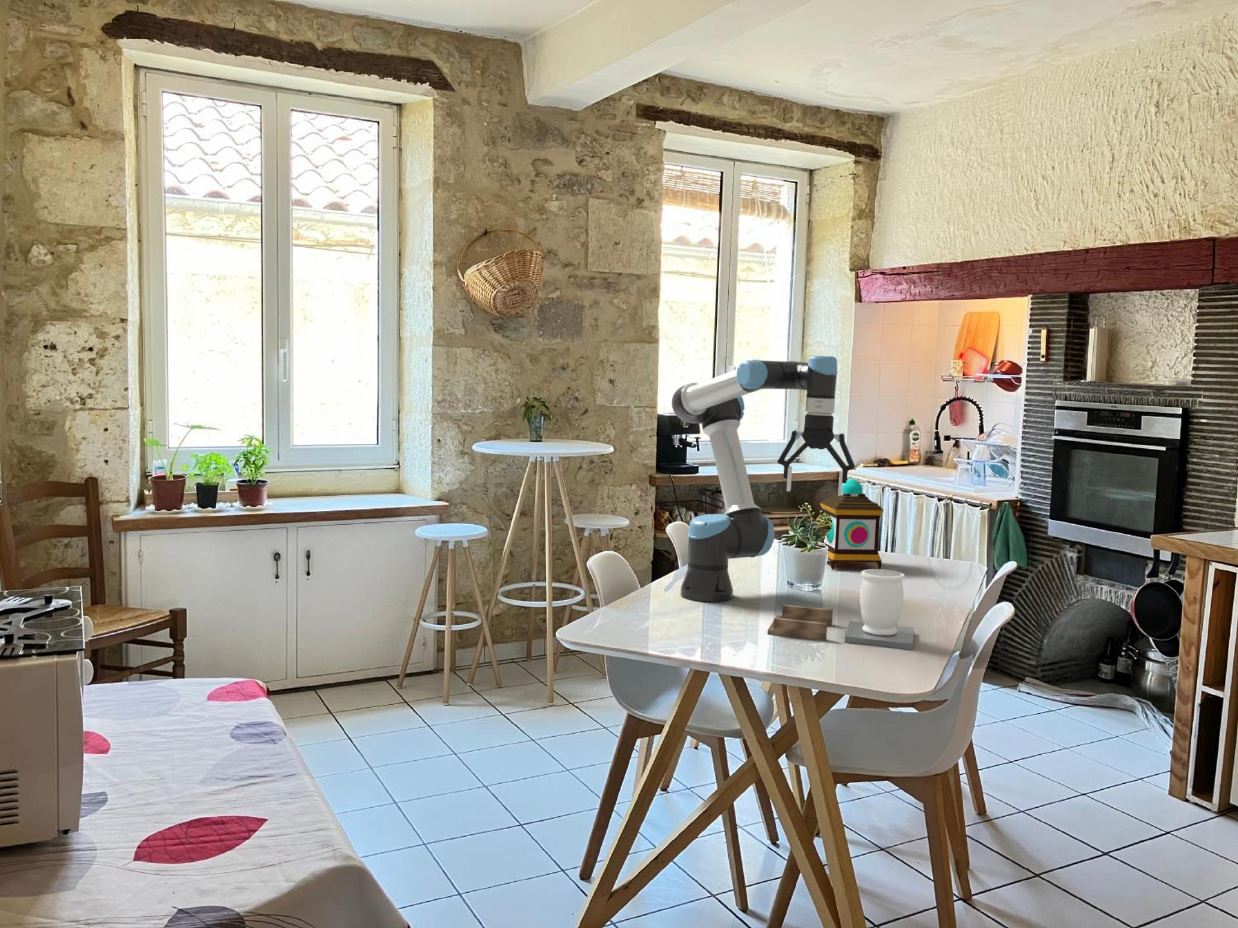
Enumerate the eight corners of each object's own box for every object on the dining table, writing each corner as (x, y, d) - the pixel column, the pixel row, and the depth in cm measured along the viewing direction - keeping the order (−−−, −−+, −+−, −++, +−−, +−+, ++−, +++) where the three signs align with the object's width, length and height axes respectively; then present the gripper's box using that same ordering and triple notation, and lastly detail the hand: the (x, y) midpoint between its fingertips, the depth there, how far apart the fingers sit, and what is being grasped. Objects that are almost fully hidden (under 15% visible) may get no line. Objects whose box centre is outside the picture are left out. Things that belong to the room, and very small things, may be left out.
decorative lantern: (811, 559, 348) (815, 474, 345) (865, 559, 350) (870, 475, 347) (829, 571, 328) (834, 481, 325) (886, 571, 330) (891, 482, 327)
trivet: (844, 642, 242) (844, 636, 242) (849, 626, 257) (849, 620, 257) (912, 649, 237) (912, 643, 237) (913, 633, 252) (913, 627, 252)
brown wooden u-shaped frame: (767, 633, 247) (768, 618, 247) (777, 618, 263) (777, 603, 262) (825, 640, 243) (826, 624, 242) (832, 624, 258) (832, 609, 258)
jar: (877, 639, 240) (881, 578, 238) (849, 628, 249) (852, 570, 247) (910, 634, 245) (913, 575, 243) (881, 624, 254) (884, 567, 252)
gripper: (770, 411, 262) (765, 490, 265) (866, 417, 255) (860, 498, 258) (774, 410, 269) (769, 487, 272) (868, 416, 262) (862, 495, 265)
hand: (814, 493), depth 265 cm, fingers open, 13 cm apart
